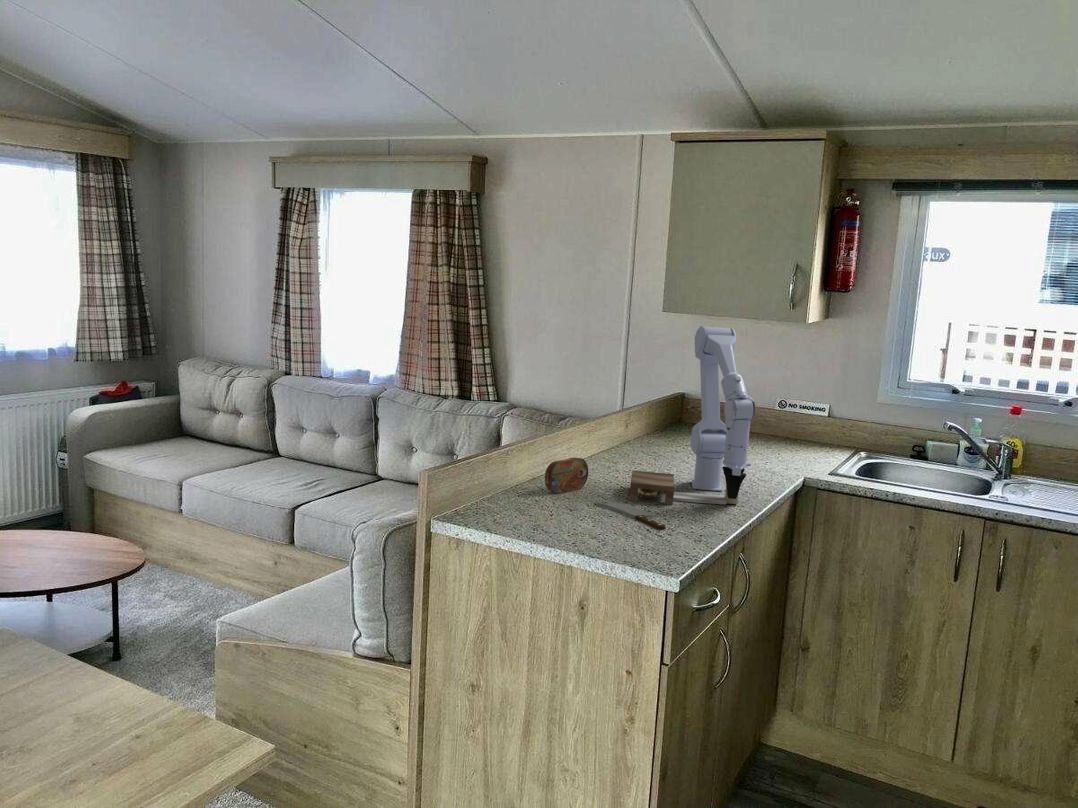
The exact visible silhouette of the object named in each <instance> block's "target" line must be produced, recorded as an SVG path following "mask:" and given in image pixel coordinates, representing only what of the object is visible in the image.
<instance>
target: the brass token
mask: <svg viewBox="0 0 1078 808" xmlns="http://www.w3.org/2000/svg"><path fill="white" fill-rule="evenodd" d="M658 491H659V490H654V489H643V488H638V497H640V498H643V499H655V498H657V497H658Z"/></svg>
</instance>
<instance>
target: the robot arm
mask: <svg viewBox="0 0 1078 808" xmlns="http://www.w3.org/2000/svg"><path fill="white" fill-rule="evenodd" d="M736 344H737V334H736V331H735V329H734V328H733V327H714V326H713V327H712V326H703V325H701V326H699V328H697V330H696V333H695V335H694V355H695V358H697V360H699V365H700V366H699V367H700V369H699V370H700V372H699V373H700V398H701V400H700V402H701V406H700V407H701V420H700V421H698V422H697V423H696V424H695V425H693V427H692V429H691V437H690V448H691V451H692V452H693V454H694V455H695V466H694V467H695V468H694V474H693V475H694V477H693V479H691V488H692V489H693V490H703V491H713V492H714V491H715V492H723V486H722V484H721V482H722V481H721V480H722V471H723V475H724V478H725V483H726V482H727V495H728V498H730V499H736V498H737V496H738V497H739V492H740V489H741V486H742V483H743V482H744V480H745V478H746V477H747V473H745V468H747V467H751V466H752V463H751V462H749V461H747V459H748V450H749V441H750V440H749V439H750V429H751V428H750V427H751V422H753V421H754V420H755V418H756V414H757V406H756V401H755V399H753V398H752V396H751V395H749V394H748V391H747V388H746V383H745V381H744V379H743V376H742V375H741V374H738V372H737V366H736V360H735V359H736V358H735V354H734V350H735V347H736ZM719 370H720V372H721V375H722V377H723V378H722V379H721V381H720V377H719V376H720V375H719V374H720V372H719ZM720 384H721V388H722V392H723V397H724V399H725V406H724V411H723V412H724V418H725V420H724V421H725V422H724V421H722V420H721V407H720V403H721V402H720V400H721V399H720Z"/></svg>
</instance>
